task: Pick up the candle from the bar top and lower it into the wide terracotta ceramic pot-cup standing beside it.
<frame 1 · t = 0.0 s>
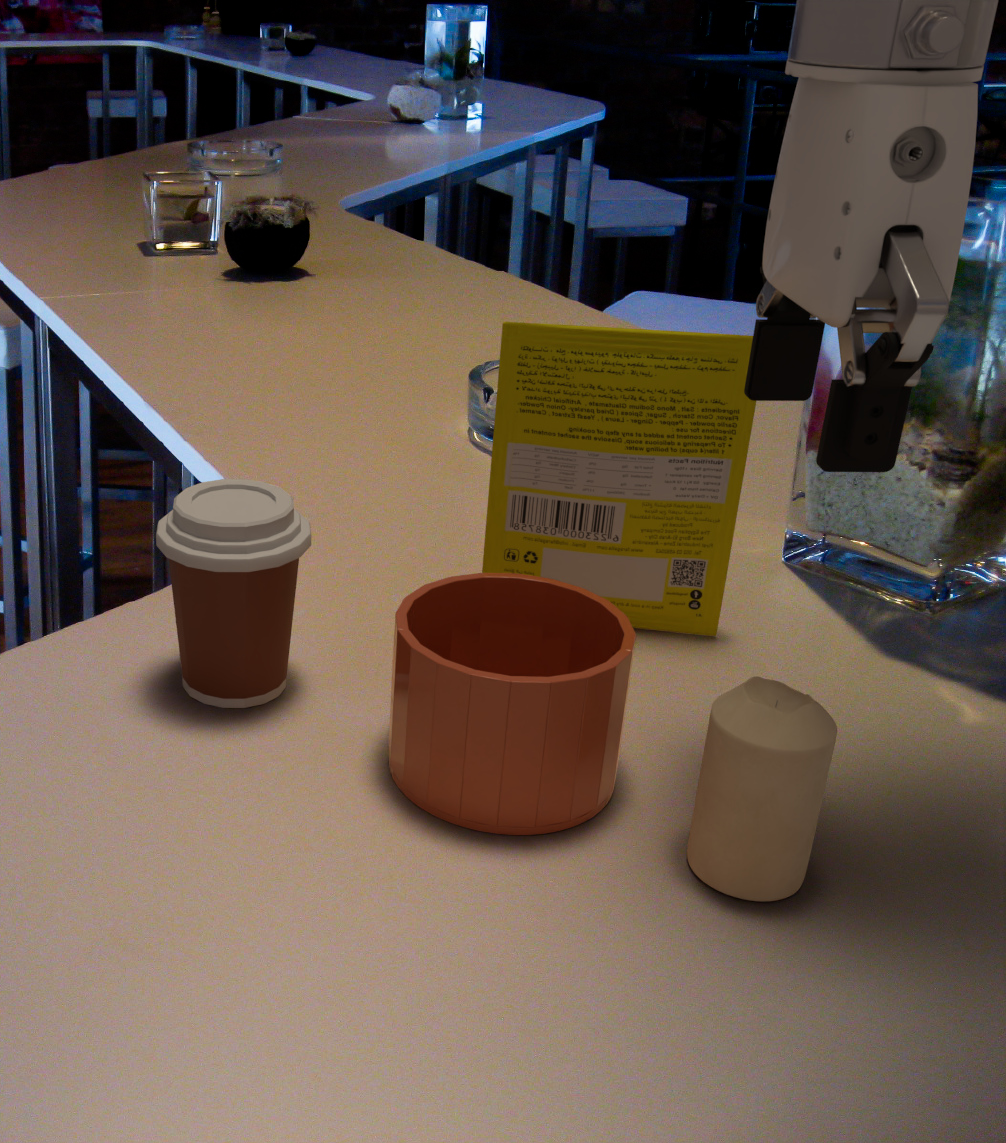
hand: (812, 431, 63), 20 cm above the worktop, tool pointing down, fingers open, 9 cm apart
pot cup: (500, 768, 73), on the worktop
candle: (743, 870, 66), on the worktop
coffee cup: (234, 683, 82), on the worktop
food package: (595, 627, 89), on the worktop
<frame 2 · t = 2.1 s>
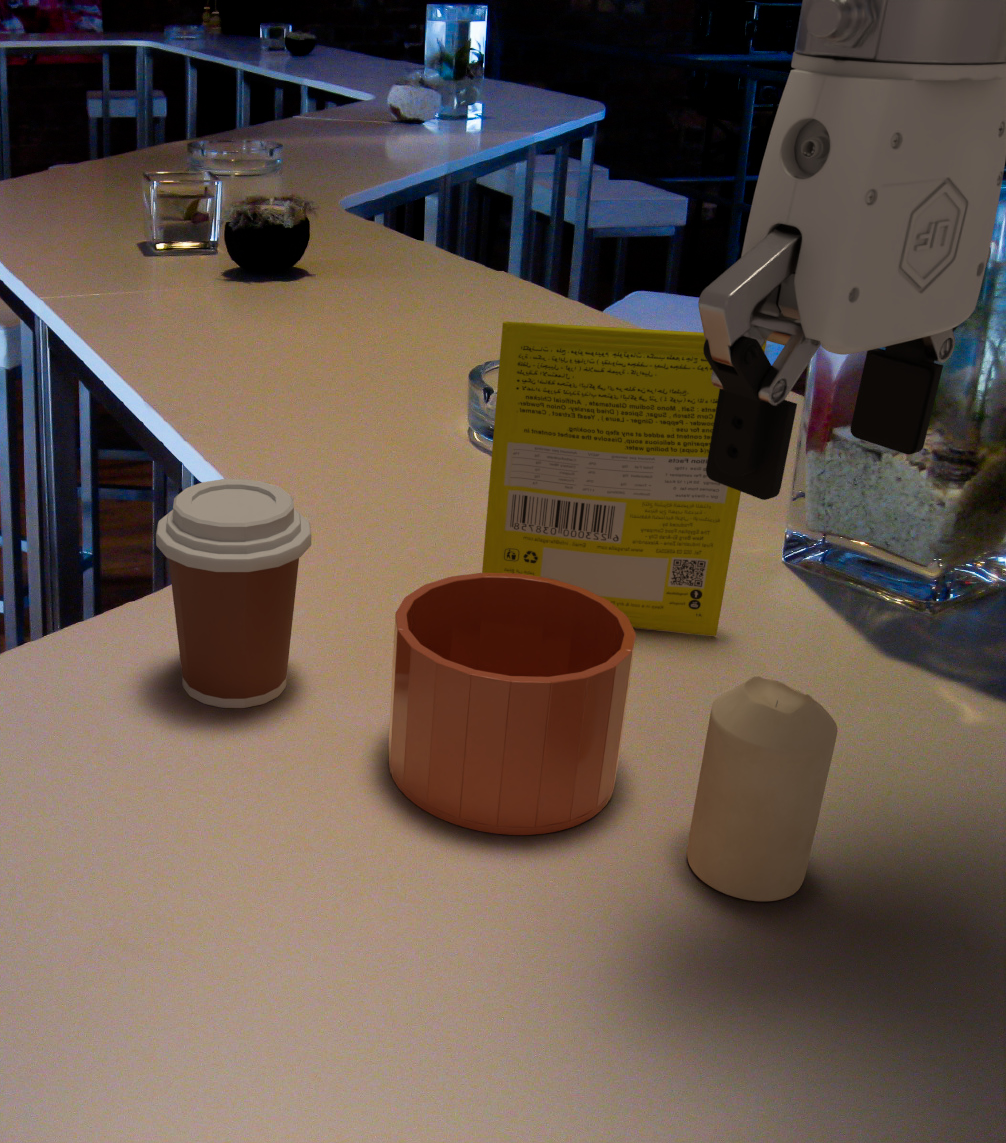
hand: (815, 465, 57), 21 cm above the worktop, tool pointing down, fingers open, 9 cm apart
nothing on the worktop moved.
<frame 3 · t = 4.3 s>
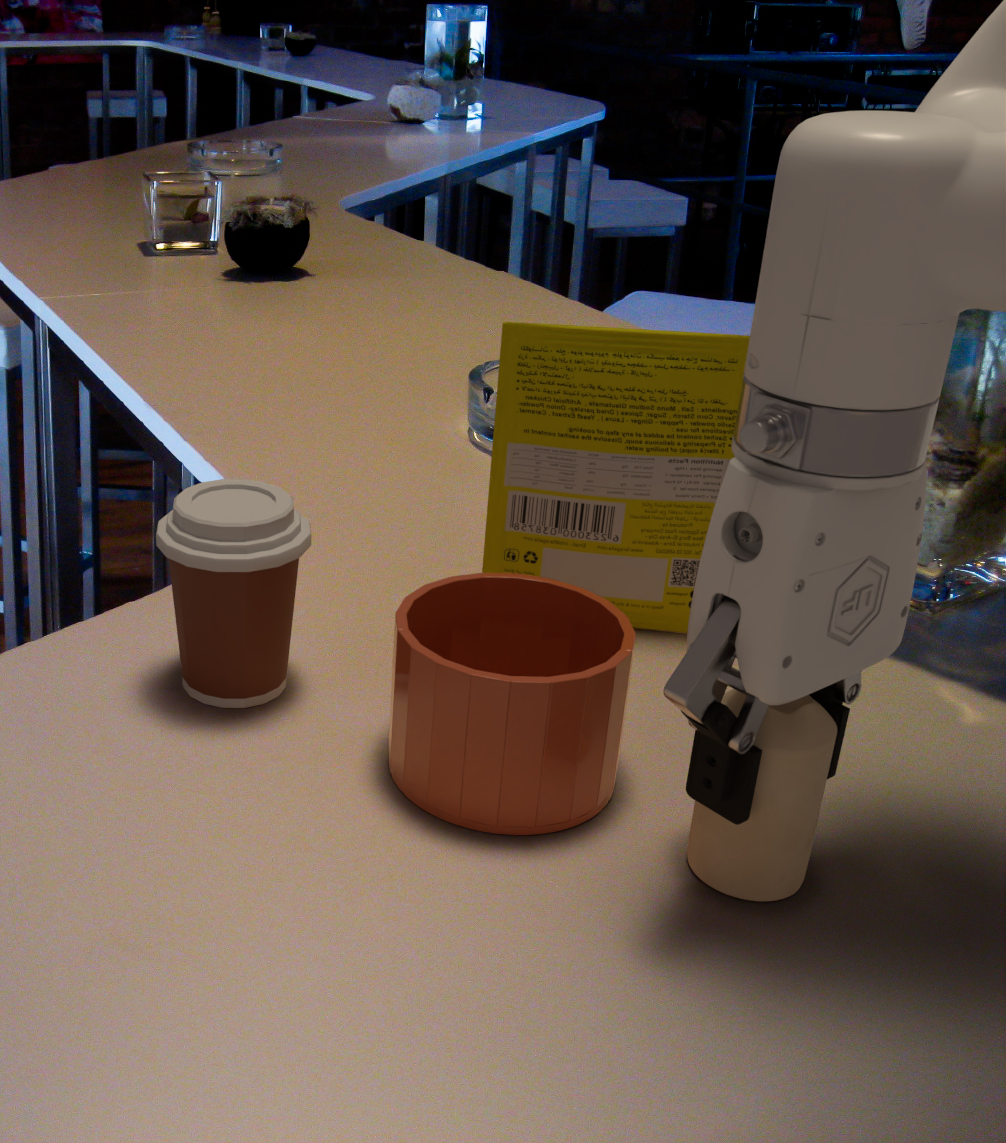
hand: (760, 783, 63), 5 cm above the worktop, tool pointing down, fingers closed on candle, 5 cm apart
candle: (743, 870, 66), on the worktop, touching gripper
everything else where it was.
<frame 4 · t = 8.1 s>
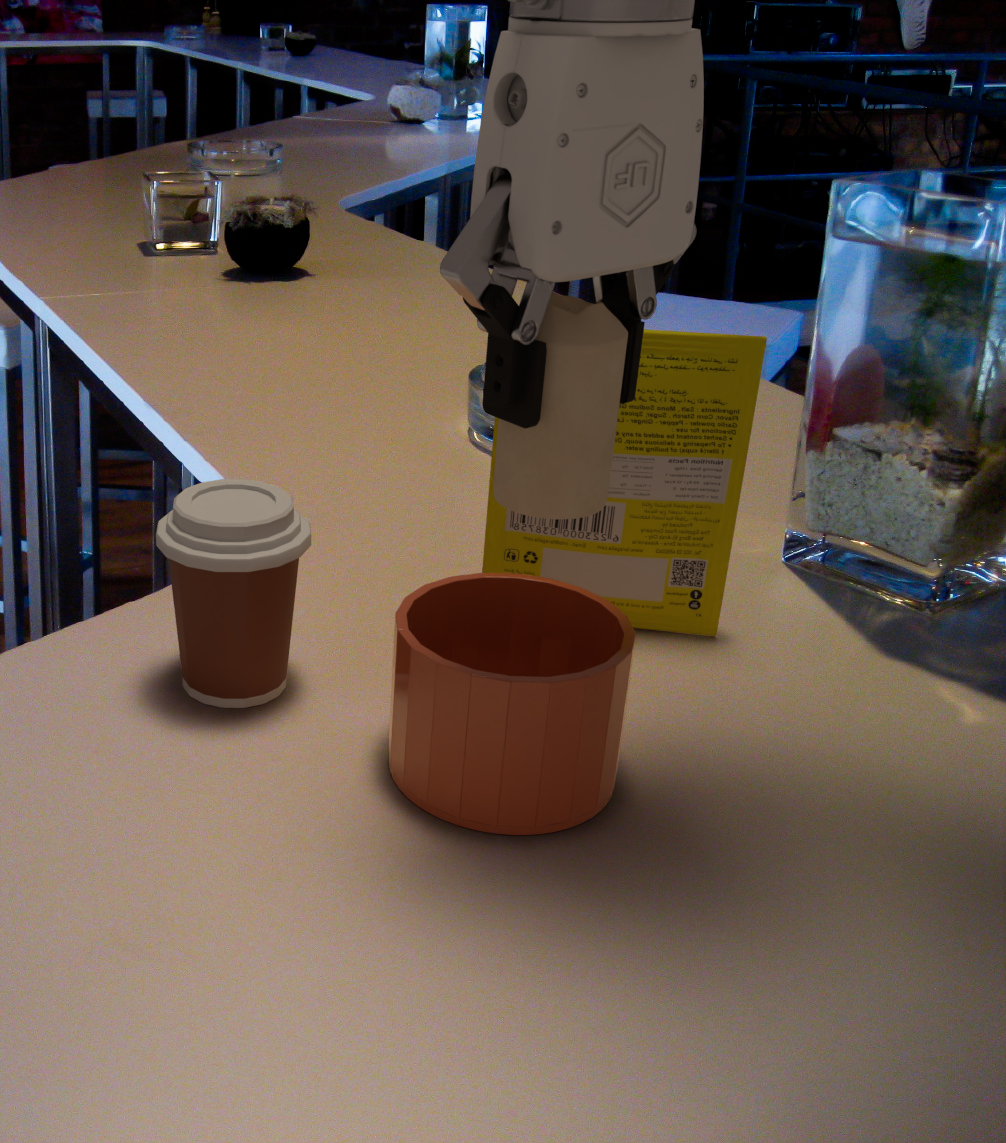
hand: (559, 403, 64), 21 cm above the worktop, tool pointing down, fingers closed on candle, 5 cm apart
candle: (548, 502, 66), point 16 cm above the worktop, touching gripper
everything else where it was.
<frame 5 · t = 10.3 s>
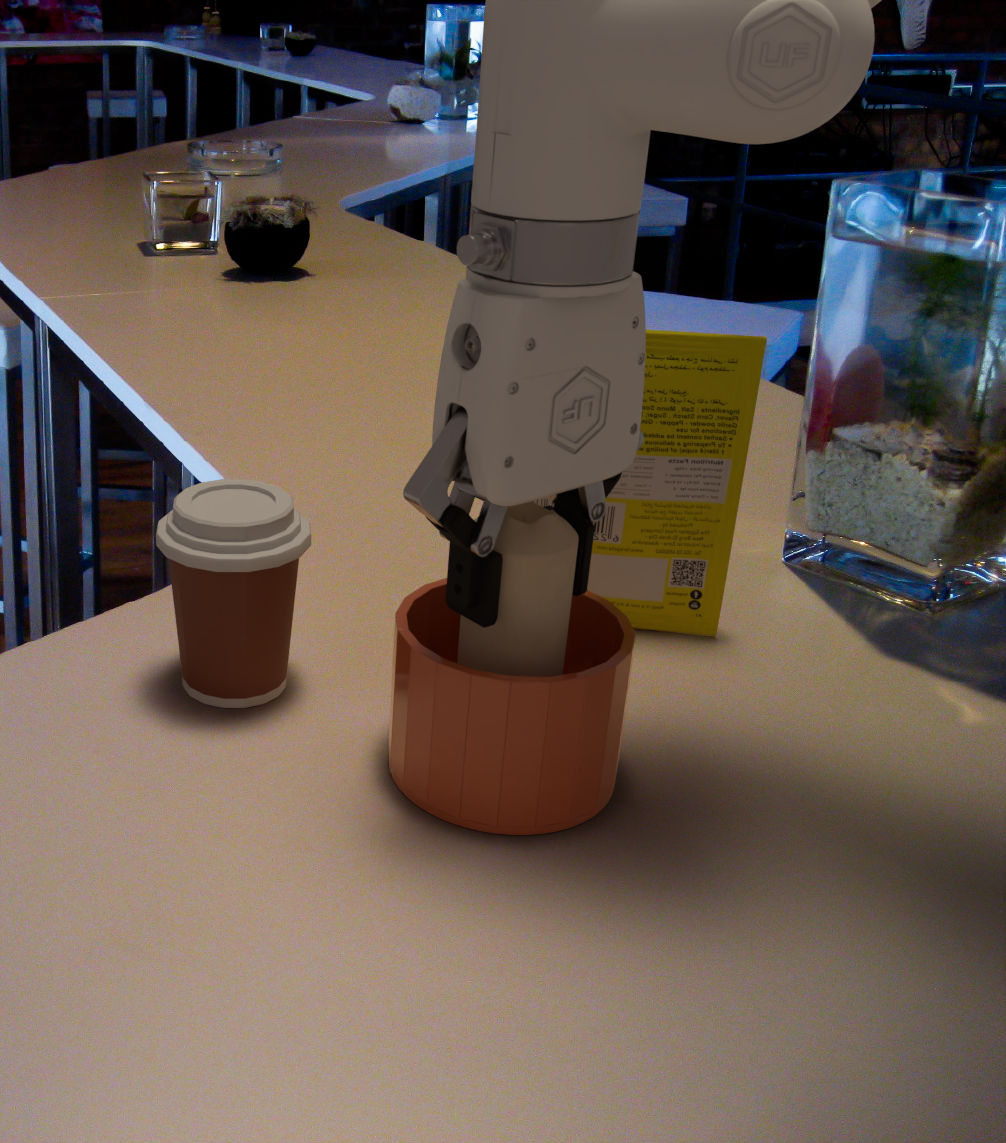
hand: (516, 597, 69), 10 cm above the worktop, tool pointing down, fingers closed on candle, 5 cm apart
candle: (508, 682, 71), point 5 cm above the worktop, touching gripper
everything else where it was.
when the fingers open (6 cm above the worktop, at t = 12.7 s): candle stays where it is, resting on pot cup.
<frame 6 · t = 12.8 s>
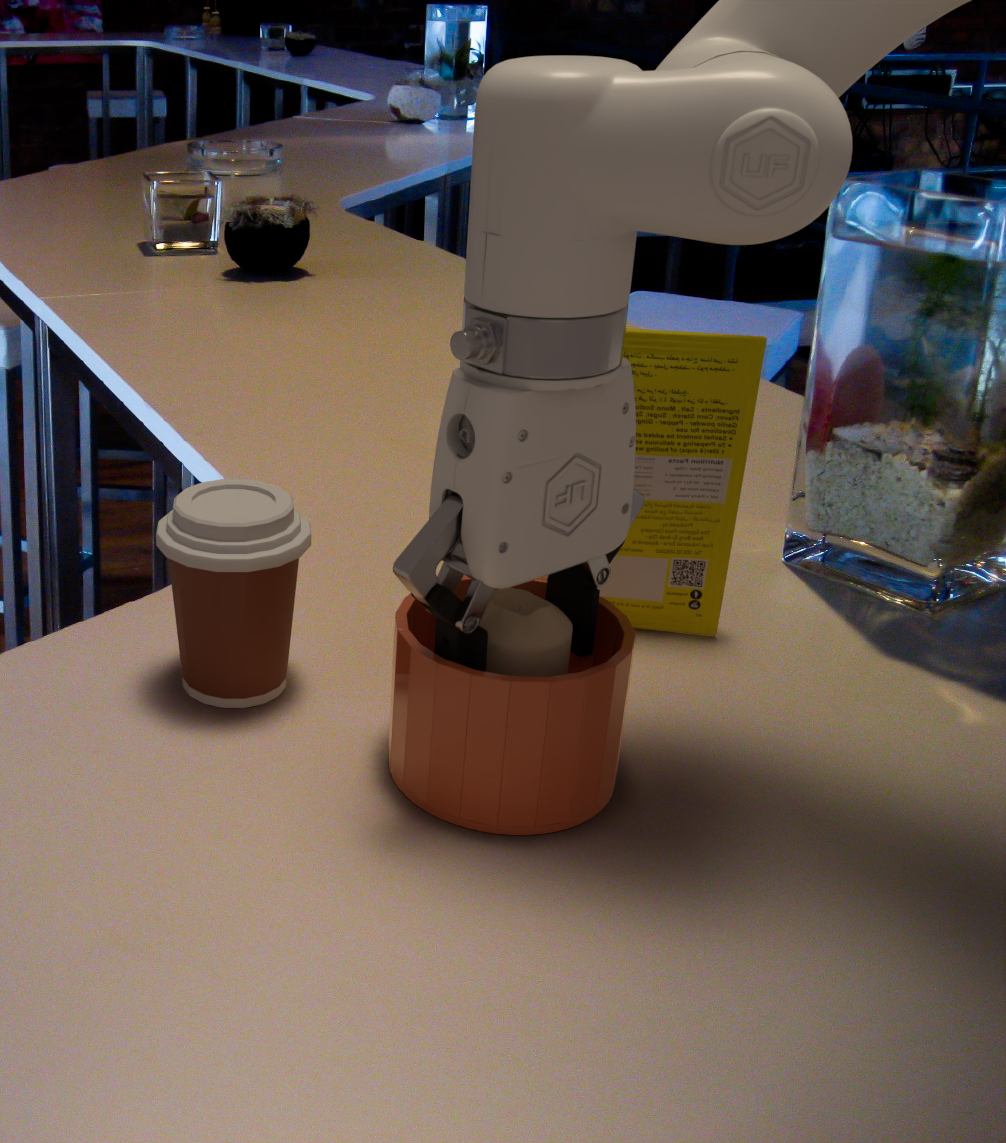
hand: (513, 665, 70), 7 cm above the worktop, tool pointing down, fingers open, 7 cm apart
candle: (504, 763, 73), resting on pot cup
everything else where it was.
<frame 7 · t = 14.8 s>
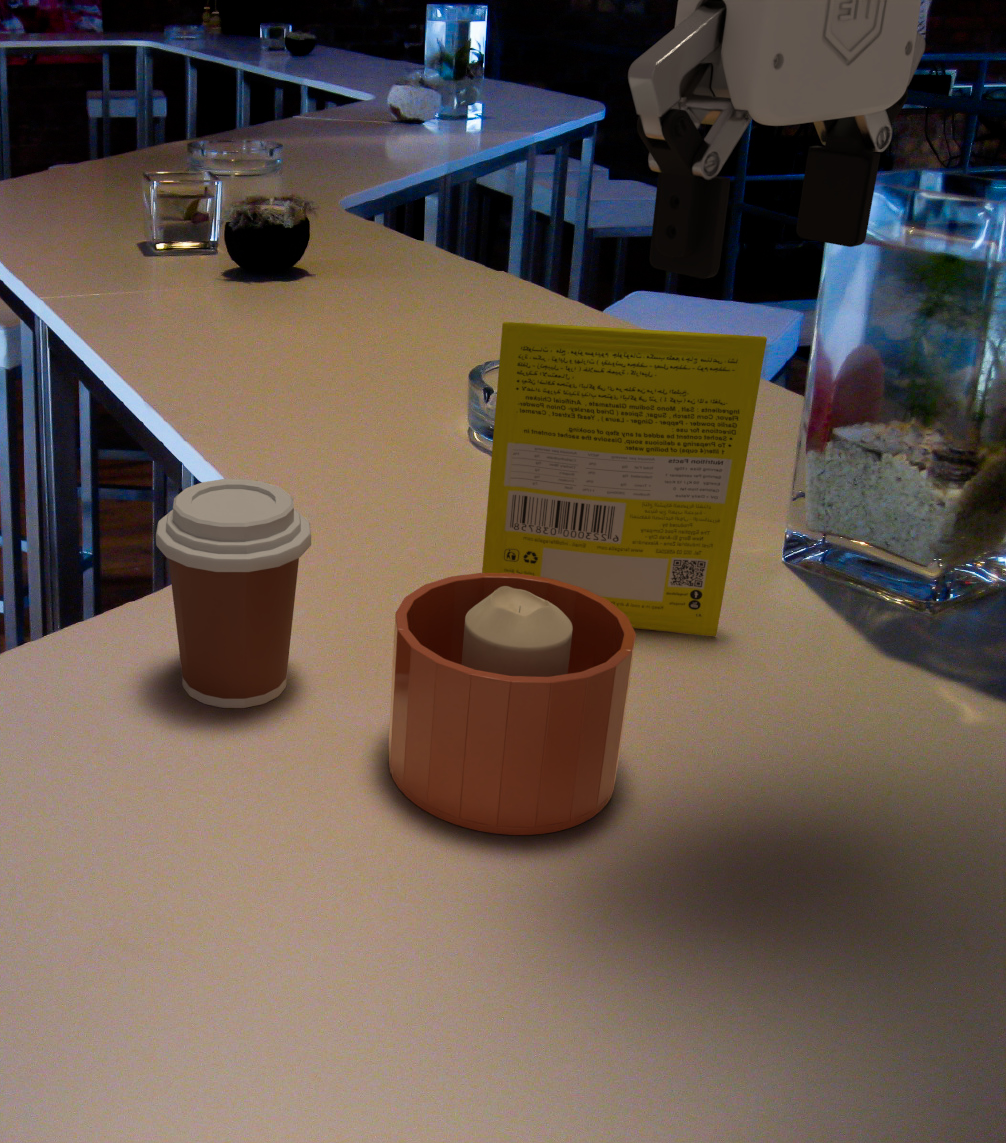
hand: (758, 256, 58), 29 cm above the worktop, tool pointing down, fingers open, 9 cm apart
nothing on the worktop moved.
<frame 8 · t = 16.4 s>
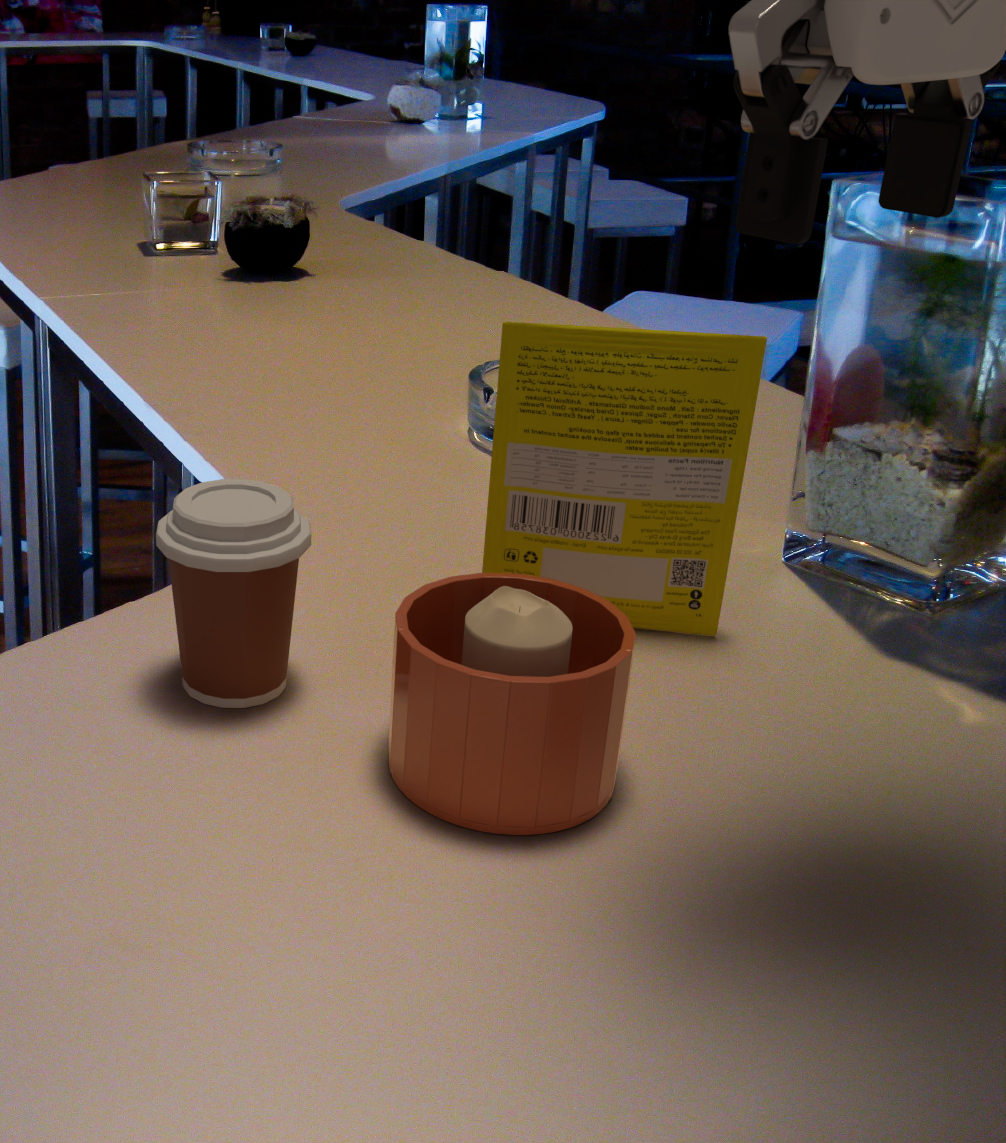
hand: (845, 224, 56), 30 cm above the worktop, tool pointing down, fingers open, 9 cm apart
nothing on the worktop moved.
at the end: candle 0.2 cm off-centre in the pot cup, point 0.3 cm above the pot cup's base; candle tilted 0° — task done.
